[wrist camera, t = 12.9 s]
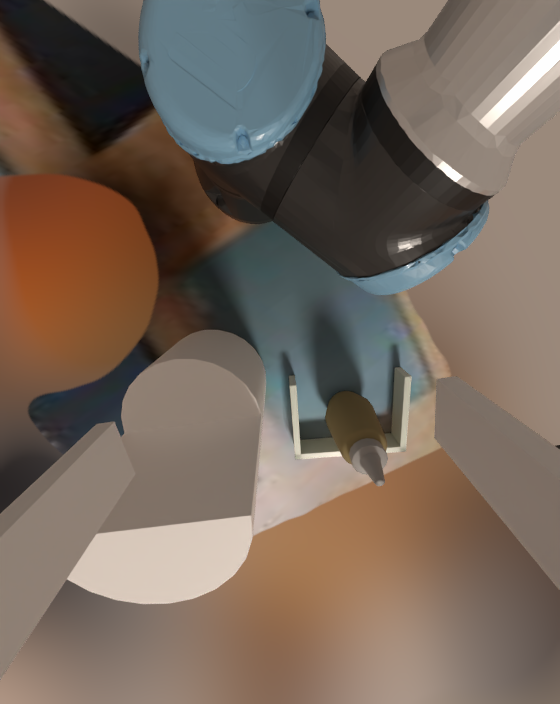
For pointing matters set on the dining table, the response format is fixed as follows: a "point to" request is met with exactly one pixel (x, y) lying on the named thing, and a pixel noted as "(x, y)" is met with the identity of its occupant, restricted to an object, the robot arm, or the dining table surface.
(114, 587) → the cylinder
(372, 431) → the squeeze bottle
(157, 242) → the dining table surface
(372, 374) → the dining table surface
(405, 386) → the cream u-shaped frame
